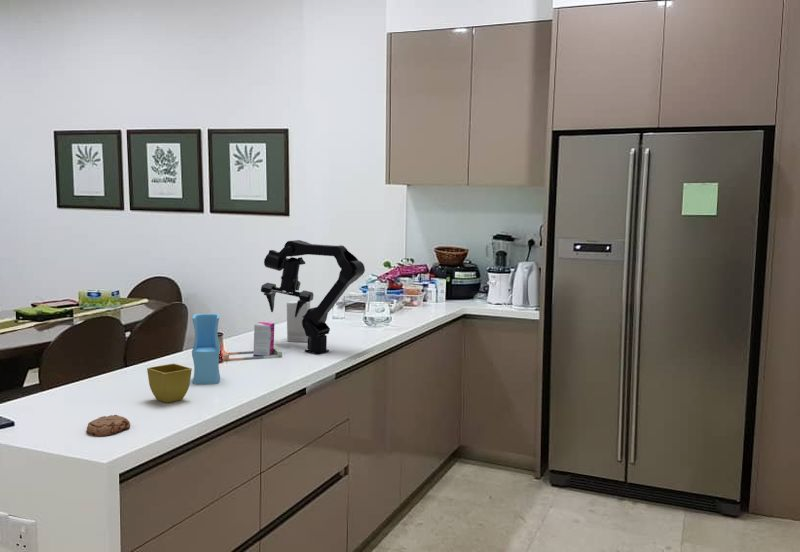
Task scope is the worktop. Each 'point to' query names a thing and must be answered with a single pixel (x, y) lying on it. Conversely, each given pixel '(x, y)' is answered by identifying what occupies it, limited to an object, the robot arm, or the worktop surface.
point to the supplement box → (263, 339)
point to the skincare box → (296, 322)
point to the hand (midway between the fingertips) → (283, 314)
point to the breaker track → (226, 357)
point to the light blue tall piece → (206, 349)
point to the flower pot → (169, 381)
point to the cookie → (107, 425)
